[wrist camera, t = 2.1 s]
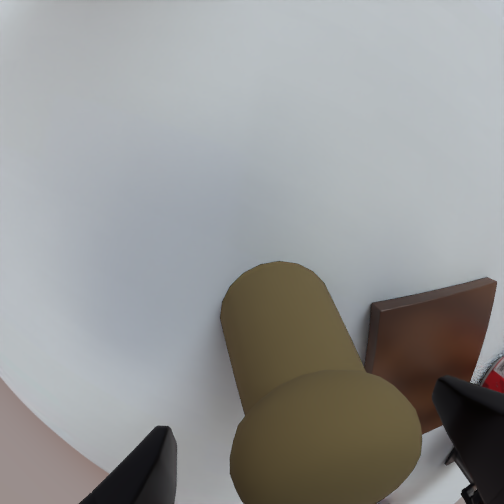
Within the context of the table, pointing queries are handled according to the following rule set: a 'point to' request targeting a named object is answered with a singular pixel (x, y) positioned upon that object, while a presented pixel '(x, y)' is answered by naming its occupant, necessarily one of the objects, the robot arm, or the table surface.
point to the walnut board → (429, 340)
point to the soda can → (495, 376)
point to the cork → (309, 398)
